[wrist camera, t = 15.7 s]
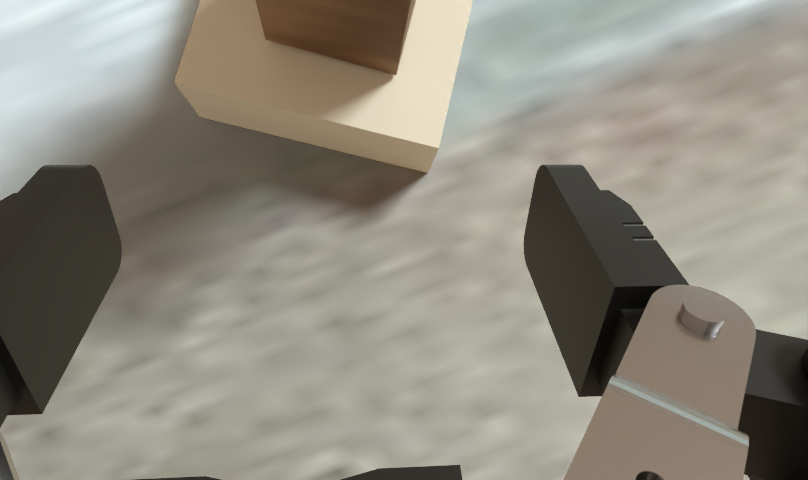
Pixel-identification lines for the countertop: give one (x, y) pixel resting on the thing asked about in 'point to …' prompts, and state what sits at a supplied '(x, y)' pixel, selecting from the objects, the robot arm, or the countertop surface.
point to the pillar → (341, 28)
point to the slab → (326, 83)
